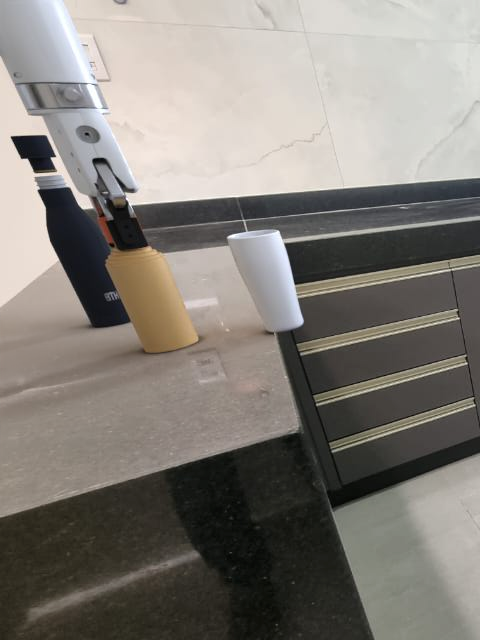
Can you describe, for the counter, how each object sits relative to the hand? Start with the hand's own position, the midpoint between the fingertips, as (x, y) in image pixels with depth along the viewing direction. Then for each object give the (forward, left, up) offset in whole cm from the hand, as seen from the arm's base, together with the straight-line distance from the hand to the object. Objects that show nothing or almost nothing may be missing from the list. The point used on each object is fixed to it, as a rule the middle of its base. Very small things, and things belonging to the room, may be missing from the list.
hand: (129, 246), depth 74 cm
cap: (0, 0, +1) cm, 1 cm away
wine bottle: (-24, +7, -15) cm, 29 cm away
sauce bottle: (0, 0, -15) cm, 15 cm away
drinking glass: (+12, +9, -15) cm, 21 cm away
